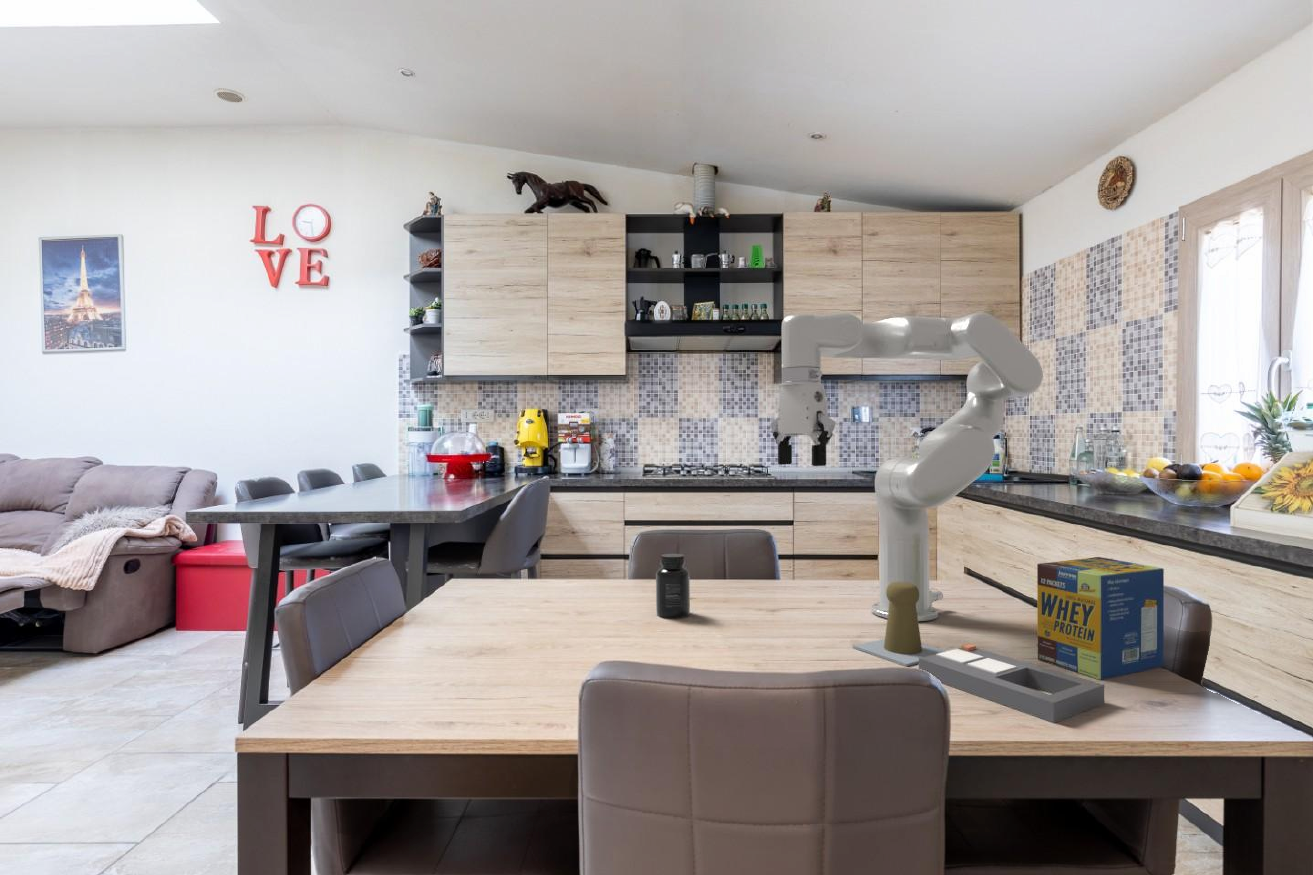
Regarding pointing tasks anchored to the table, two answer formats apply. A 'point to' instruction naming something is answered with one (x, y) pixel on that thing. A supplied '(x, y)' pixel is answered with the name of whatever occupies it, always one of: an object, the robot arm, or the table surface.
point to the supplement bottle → (672, 587)
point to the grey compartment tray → (1014, 682)
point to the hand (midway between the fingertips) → (801, 465)
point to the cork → (902, 619)
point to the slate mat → (902, 659)
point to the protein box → (1100, 616)
